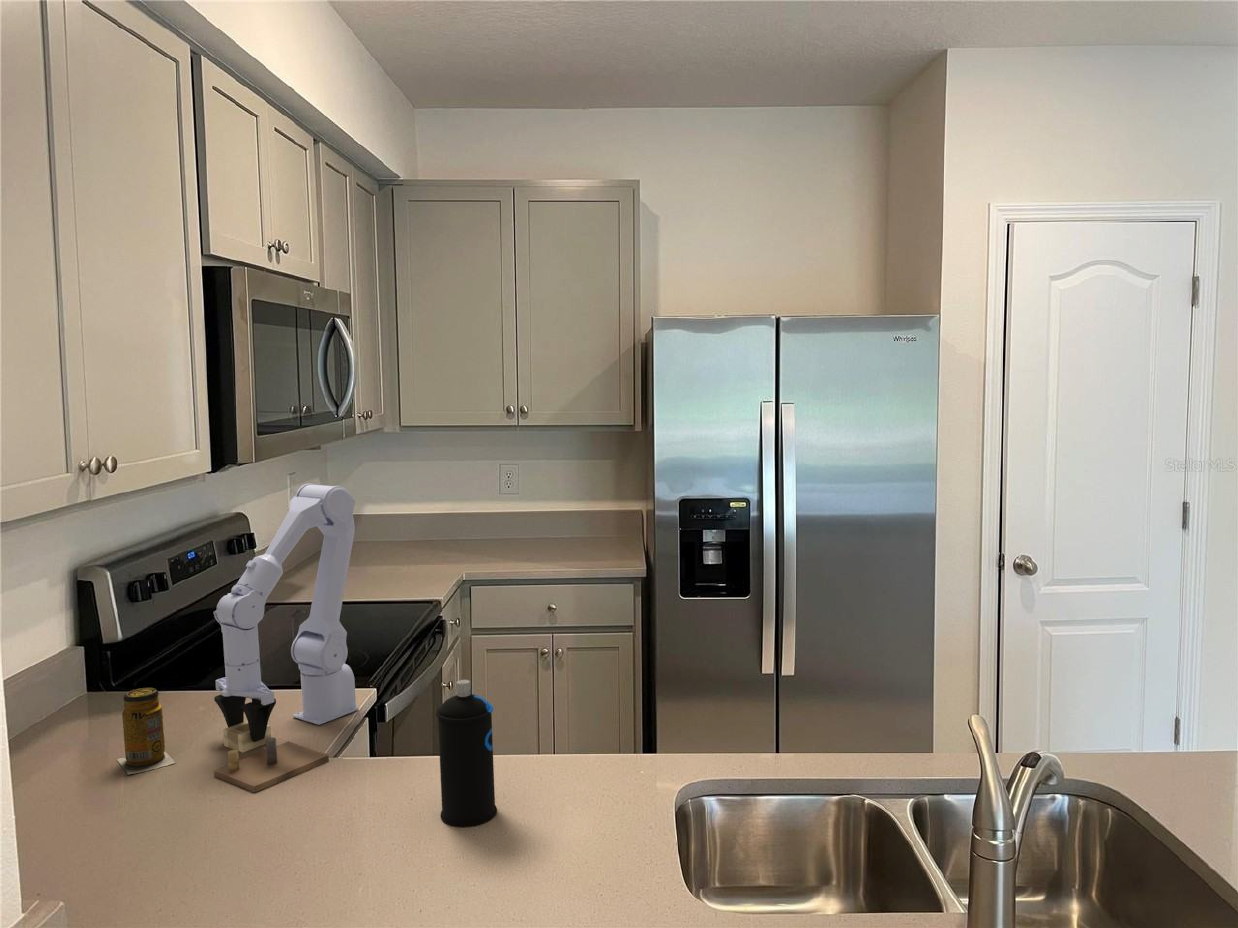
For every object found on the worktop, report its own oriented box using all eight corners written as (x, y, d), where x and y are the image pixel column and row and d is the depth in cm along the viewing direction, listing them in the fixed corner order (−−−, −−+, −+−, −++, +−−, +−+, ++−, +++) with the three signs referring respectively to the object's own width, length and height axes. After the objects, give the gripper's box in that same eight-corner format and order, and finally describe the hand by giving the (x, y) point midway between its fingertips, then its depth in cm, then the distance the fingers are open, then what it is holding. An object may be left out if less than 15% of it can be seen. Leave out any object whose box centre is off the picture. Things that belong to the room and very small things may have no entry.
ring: (252, 735, 170) (251, 719, 169) (271, 741, 166) (270, 725, 166) (224, 745, 165) (223, 729, 165) (242, 752, 162) (241, 735, 162)
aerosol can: (450, 832, 132) (444, 695, 130) (433, 809, 139) (427, 678, 137) (505, 818, 136) (500, 684, 134) (486, 796, 143) (481, 669, 141)
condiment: (162, 748, 165) (157, 682, 163) (175, 763, 158) (170, 694, 157) (116, 760, 160) (111, 692, 159) (128, 776, 153) (122, 705, 152)
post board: (288, 746, 164) (286, 719, 163) (328, 760, 158) (327, 732, 157) (214, 776, 153) (212, 746, 152) (254, 792, 146) (252, 761, 146)
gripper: (197, 660, 165) (203, 734, 167) (246, 674, 157) (251, 752, 158) (234, 650, 171) (239, 722, 172) (282, 663, 163) (287, 738, 164)
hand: (247, 735), depth 166 cm, fingers open, 6 cm apart
